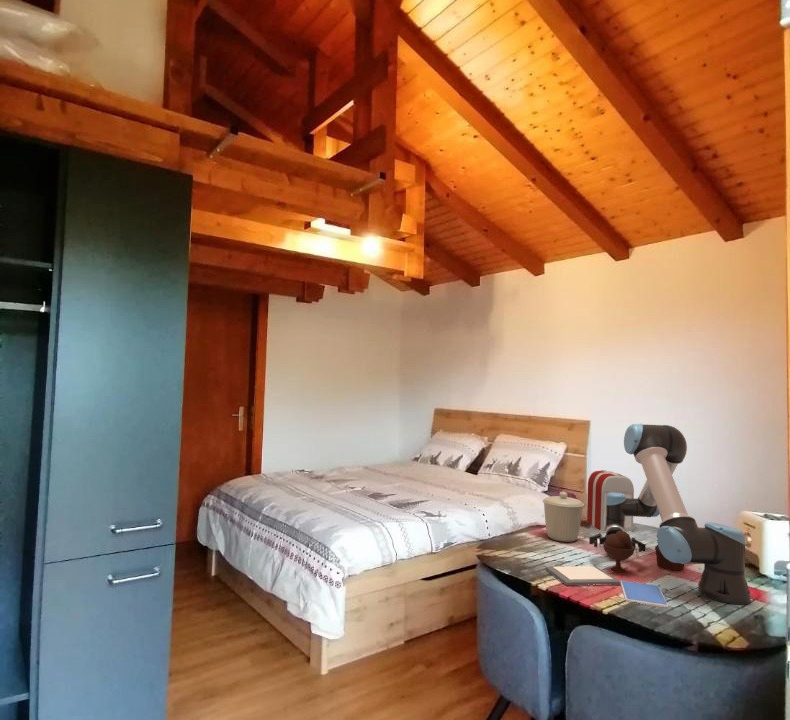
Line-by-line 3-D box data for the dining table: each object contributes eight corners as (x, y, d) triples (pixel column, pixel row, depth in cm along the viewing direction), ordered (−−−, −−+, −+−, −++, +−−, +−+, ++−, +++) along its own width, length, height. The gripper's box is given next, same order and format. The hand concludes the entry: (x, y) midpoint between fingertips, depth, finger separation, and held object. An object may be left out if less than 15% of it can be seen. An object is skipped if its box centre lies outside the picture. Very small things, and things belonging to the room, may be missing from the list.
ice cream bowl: (627, 567, 207) (628, 527, 208) (638, 577, 196) (639, 535, 197) (599, 565, 208) (600, 525, 209) (607, 574, 197) (608, 533, 198)
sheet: (612, 580, 188) (612, 578, 188) (570, 580, 185) (570, 579, 186) (592, 567, 201) (592, 566, 201) (552, 568, 198) (552, 566, 198)
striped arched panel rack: (616, 522, 279) (618, 470, 281) (634, 532, 262) (635, 476, 263) (585, 521, 278) (587, 469, 280) (600, 531, 261) (602, 474, 262)
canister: (587, 538, 246) (588, 491, 247) (577, 547, 231) (579, 497, 232) (547, 531, 256) (549, 486, 257) (536, 539, 240) (537, 491, 242)
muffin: (655, 560, 217) (656, 535, 218) (687, 566, 211) (687, 540, 212) (652, 568, 207) (653, 542, 207) (685, 575, 201) (686, 547, 202)
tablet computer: (619, 583, 191) (619, 579, 191) (659, 588, 187) (659, 584, 187) (625, 603, 172) (625, 599, 172) (669, 609, 168) (669, 605, 169)
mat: (620, 585, 187) (620, 581, 187) (566, 586, 184) (566, 582, 184) (595, 569, 203) (595, 566, 203) (545, 570, 199) (545, 566, 199)
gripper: (648, 549, 218) (654, 564, 198) (583, 540, 227) (582, 554, 207) (649, 530, 219) (654, 544, 199) (583, 522, 227) (582, 534, 207)
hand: (617, 549), depth 203 cm, fingers open, 13 cm apart
